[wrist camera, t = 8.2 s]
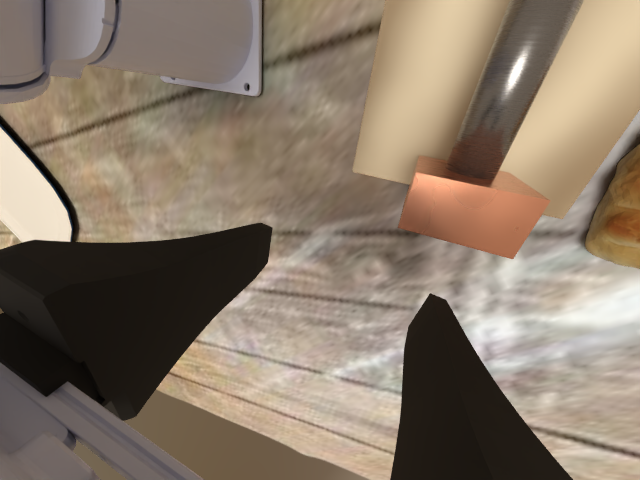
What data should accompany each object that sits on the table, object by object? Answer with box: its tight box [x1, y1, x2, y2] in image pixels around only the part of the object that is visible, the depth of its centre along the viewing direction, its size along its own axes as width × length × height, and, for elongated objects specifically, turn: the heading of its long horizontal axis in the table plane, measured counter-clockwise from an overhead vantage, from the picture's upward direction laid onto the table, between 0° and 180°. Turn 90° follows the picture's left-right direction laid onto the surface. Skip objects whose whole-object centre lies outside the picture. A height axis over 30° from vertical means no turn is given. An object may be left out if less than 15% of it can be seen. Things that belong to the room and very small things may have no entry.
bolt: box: [398, 0, 584, 259], centre depth 9 cm, size 4×10×5 cm, turn 173°
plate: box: [0, 124, 73, 242], centre depth 39 cm, size 25×25×2 cm
